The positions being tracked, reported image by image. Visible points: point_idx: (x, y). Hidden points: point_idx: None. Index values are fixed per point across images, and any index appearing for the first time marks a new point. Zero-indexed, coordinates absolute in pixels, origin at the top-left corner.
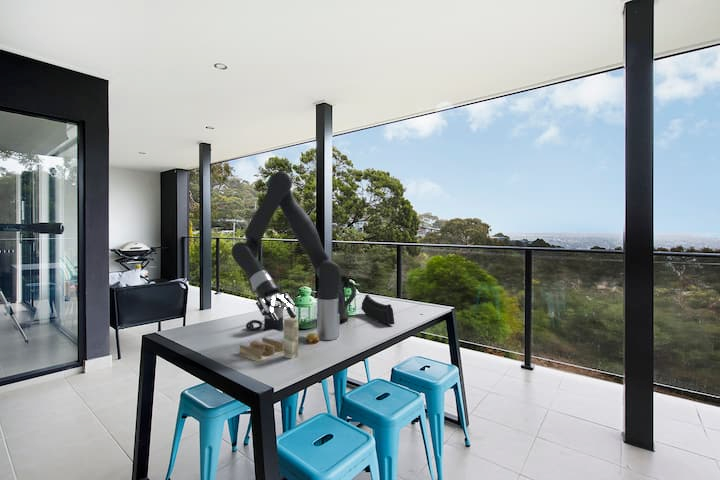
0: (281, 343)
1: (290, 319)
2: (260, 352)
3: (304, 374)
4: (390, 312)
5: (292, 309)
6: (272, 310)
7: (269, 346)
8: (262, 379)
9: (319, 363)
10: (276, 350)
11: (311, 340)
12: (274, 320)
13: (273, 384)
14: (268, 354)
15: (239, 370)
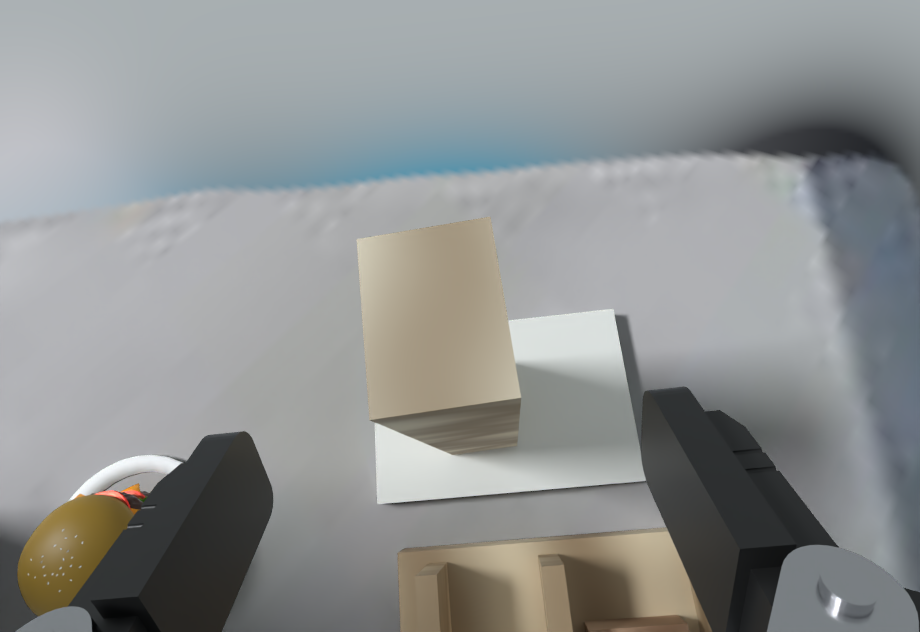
0: (438, 585)
1: (456, 304)
2: None
3: (570, 177)
4: None
5: (127, 550)
6: (810, 592)
7: (569, 618)
8: (808, 287)
9: None
10: (467, 623)
11: None
12: (729, 431)
13: (786, 189)
14: (579, 591)
15: (883, 546)
